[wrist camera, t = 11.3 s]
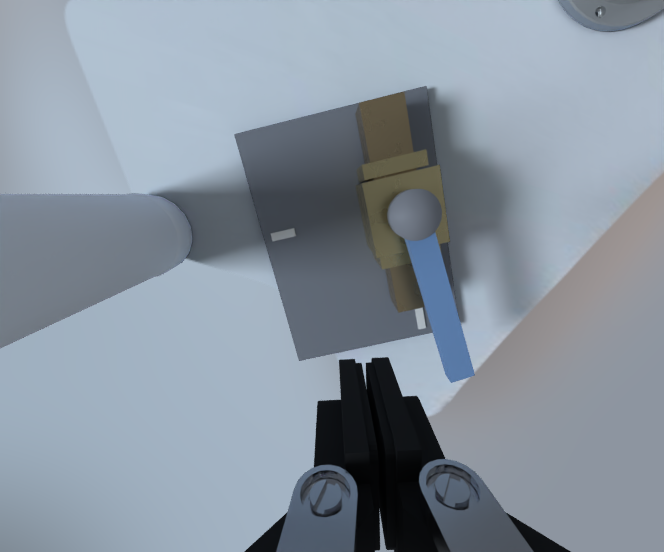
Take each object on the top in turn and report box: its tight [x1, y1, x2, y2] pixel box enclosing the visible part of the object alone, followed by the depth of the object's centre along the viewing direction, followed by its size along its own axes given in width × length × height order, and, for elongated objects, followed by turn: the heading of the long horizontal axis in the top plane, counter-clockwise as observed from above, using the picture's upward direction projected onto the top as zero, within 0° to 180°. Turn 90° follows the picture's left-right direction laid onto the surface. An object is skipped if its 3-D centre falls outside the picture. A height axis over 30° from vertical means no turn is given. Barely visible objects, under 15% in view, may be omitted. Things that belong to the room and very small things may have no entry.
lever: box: [387, 189, 475, 383], centre depth 24 cm, size 16×4×1 cm, turn 20°
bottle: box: [0, 193, 192, 348], centre depth 18 cm, size 8×8×30 cm
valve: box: [355, 92, 450, 313], centre depth 28 cm, size 6×18×8 cm, turn 13°
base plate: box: [234, 86, 457, 361], centre depth 32 cm, size 18×24×1 cm
